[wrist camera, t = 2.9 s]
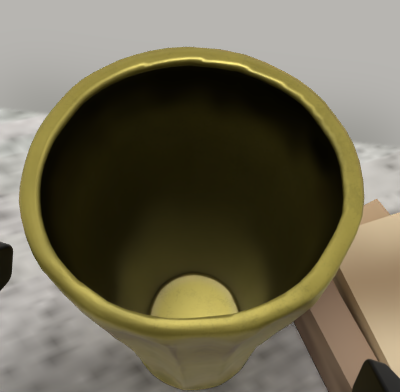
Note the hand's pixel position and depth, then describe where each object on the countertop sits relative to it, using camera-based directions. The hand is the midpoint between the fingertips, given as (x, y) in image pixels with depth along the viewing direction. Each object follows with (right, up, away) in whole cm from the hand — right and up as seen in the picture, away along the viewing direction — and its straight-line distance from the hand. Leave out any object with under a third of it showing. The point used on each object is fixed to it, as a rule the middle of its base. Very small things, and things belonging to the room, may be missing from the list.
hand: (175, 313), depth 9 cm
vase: (0, -3, +9) cm, 10 cm away
